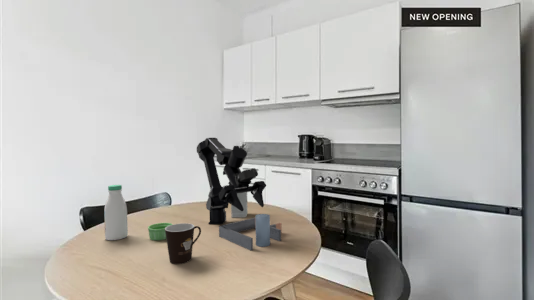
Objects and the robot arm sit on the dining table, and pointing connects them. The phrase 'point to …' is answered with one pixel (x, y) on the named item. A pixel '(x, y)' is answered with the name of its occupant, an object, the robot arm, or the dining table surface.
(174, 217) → the dining table surface
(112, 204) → the milk bottle
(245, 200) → the supplement box
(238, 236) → the bent channel
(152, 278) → the dining table surface
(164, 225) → the ramekin
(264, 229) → the slate peg
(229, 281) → the dining table surface
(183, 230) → the coffee mug
